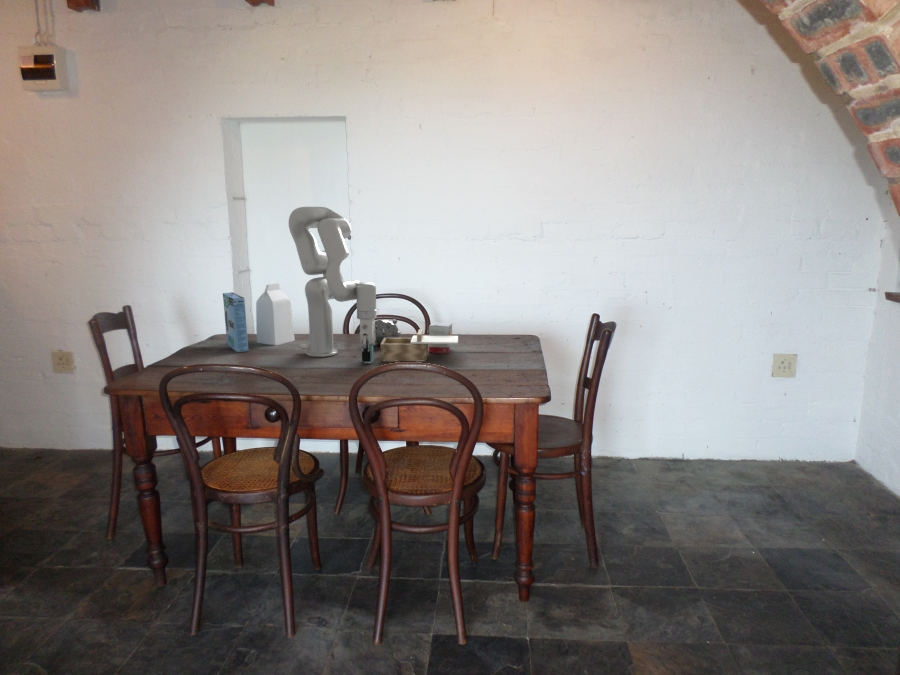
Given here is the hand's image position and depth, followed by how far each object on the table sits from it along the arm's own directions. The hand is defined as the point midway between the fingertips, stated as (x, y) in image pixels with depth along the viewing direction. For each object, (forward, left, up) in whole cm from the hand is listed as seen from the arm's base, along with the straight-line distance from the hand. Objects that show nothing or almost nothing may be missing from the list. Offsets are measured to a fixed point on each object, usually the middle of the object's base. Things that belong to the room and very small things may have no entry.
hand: (367, 358), depth 248 cm
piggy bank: (+3, +30, -2) cm, 30 cm away
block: (0, 0, -1) cm, 1 cm away
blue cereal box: (-60, +23, -2) cm, 64 cm away
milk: (-47, +36, -2) cm, 59 cm away
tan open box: (+14, +7, -1) cm, 16 cm away
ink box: (+28, +20, -2) cm, 34 cm away
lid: (+26, +7, +6) cm, 28 cm away
